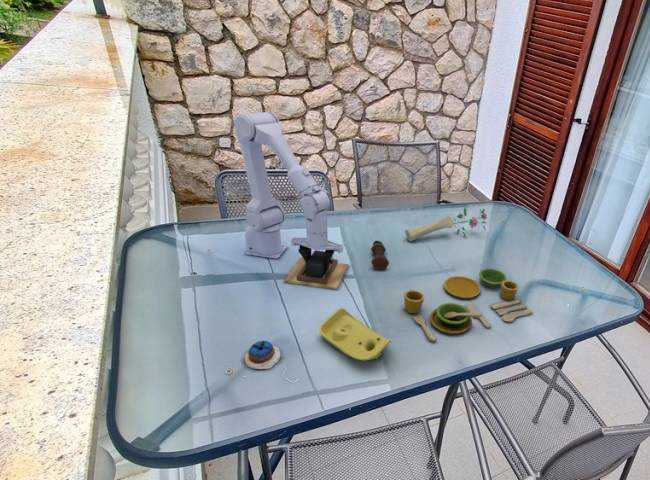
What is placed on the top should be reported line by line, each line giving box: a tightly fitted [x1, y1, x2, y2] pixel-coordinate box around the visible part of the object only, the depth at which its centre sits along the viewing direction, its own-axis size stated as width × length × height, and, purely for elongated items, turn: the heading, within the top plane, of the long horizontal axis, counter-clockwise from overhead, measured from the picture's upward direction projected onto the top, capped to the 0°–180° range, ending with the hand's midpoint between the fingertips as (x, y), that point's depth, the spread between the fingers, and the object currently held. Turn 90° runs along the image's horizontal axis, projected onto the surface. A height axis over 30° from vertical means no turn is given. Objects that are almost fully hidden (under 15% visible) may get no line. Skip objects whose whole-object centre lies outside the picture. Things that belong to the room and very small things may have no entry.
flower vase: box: [404, 207, 488, 243], centre depth 173 cm, size 12×12×35 cm
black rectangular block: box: [305, 249, 330, 278], centre depth 132 cm, size 4×9×5 cm, turn 4°
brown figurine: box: [370, 240, 390, 271], centre depth 148 cm, size 6×5×15 cm
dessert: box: [244, 340, 281, 370], centre depth 101 cm, size 8×7×6 cm
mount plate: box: [284, 256, 349, 290], centre depth 133 cm, size 15×14×2 cm
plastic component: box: [318, 307, 392, 361], centre depth 110 cm, size 20×7×10 cm
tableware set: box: [403, 268, 533, 343], centre depth 137 cm, size 41×28×6 cm
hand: (318, 268), depth 132 cm, fingers closed on black rectangular block, 5 cm apart
